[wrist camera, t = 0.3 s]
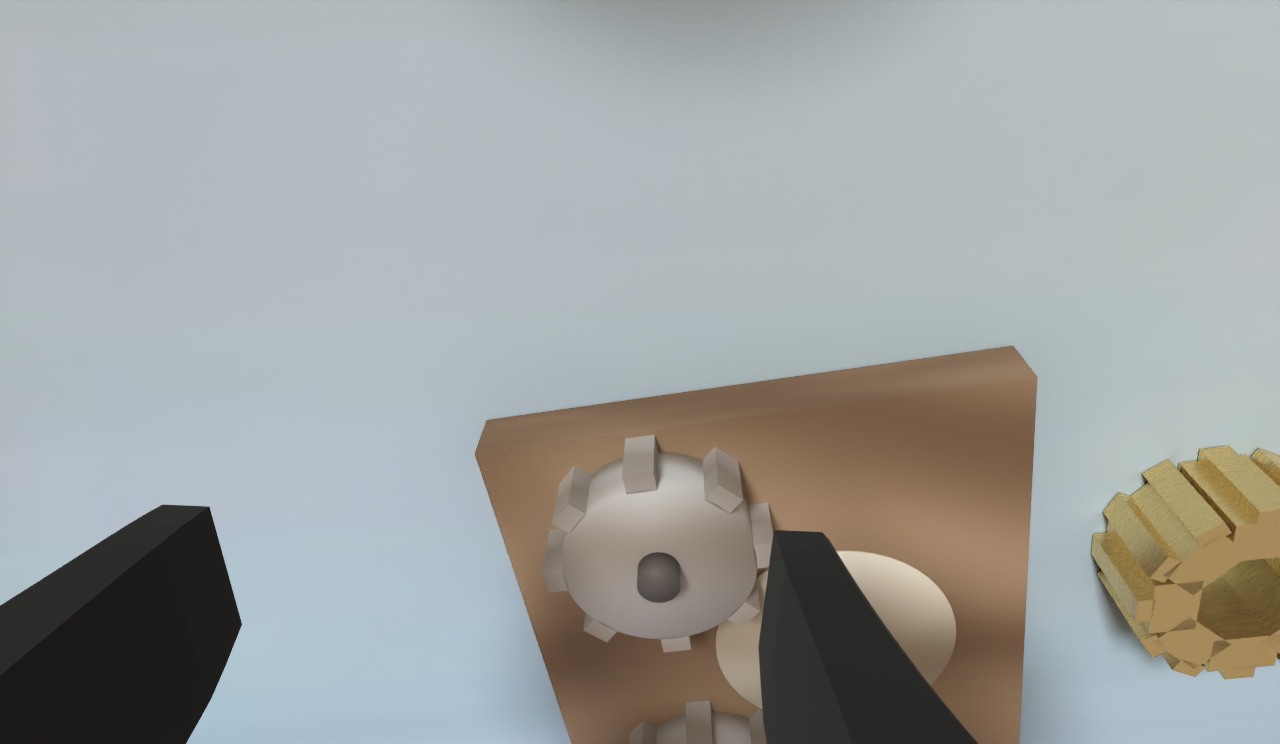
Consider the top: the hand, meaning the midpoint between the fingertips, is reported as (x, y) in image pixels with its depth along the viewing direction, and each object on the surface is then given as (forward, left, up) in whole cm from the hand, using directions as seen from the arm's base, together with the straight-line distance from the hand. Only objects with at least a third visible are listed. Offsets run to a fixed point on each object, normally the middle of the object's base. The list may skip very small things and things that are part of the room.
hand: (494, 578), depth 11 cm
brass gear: (-10, -15, -10) cm, 21 cm away
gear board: (-11, -4, -10) cm, 15 cm away
